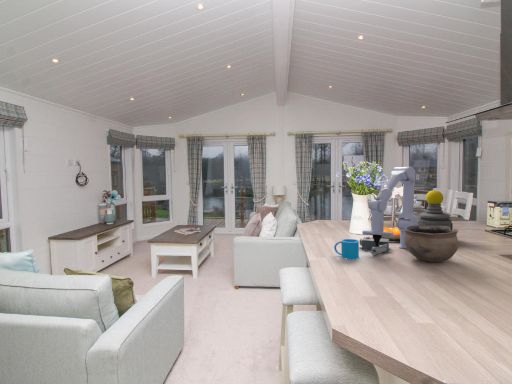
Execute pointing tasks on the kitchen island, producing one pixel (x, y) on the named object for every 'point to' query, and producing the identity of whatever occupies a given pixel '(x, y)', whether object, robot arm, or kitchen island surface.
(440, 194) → the decorative lamp
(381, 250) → the side door
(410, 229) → the ceramic bowl
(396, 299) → the kitchen island surface
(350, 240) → the mug
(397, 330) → the kitchen island surface
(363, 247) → the camera body
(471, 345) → the kitchen island surface
